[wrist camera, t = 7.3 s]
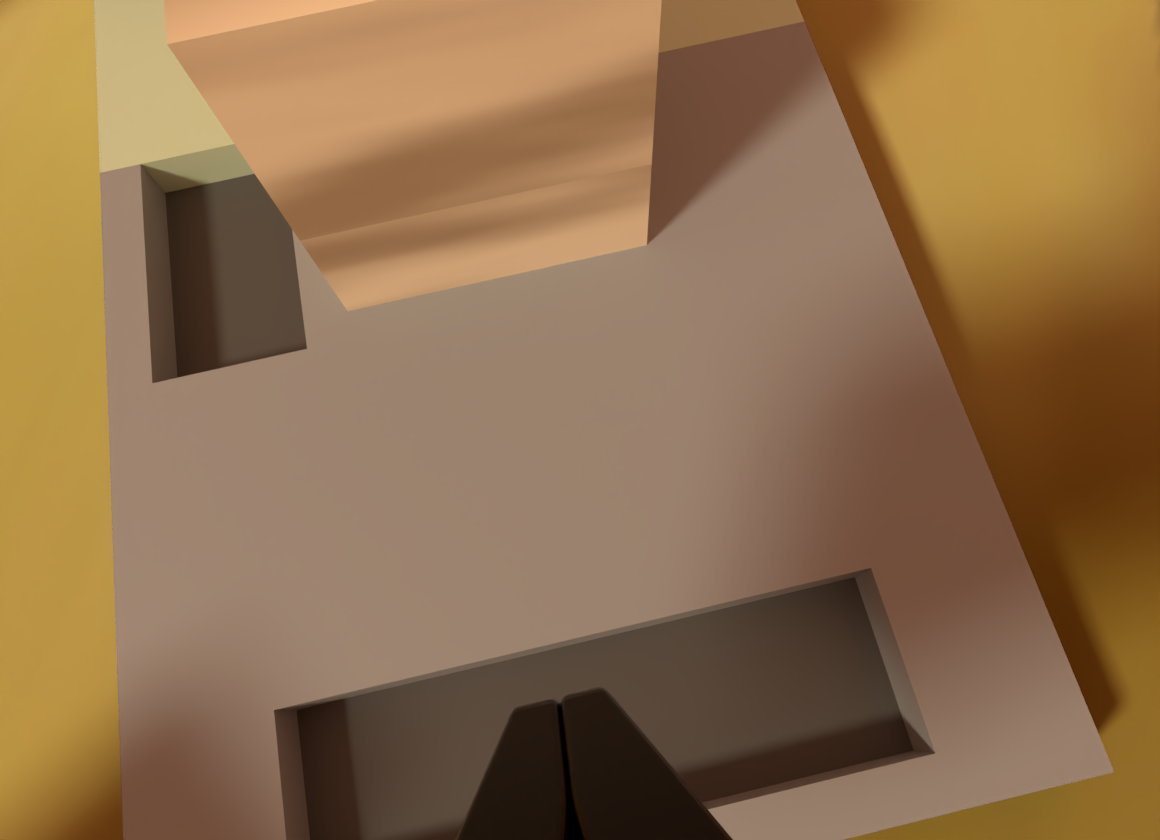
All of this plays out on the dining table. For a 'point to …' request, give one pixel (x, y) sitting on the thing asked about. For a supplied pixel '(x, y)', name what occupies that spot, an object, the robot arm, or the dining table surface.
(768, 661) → the board
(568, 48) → the birch block
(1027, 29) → the dining table surface
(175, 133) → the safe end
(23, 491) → the dining table surface
